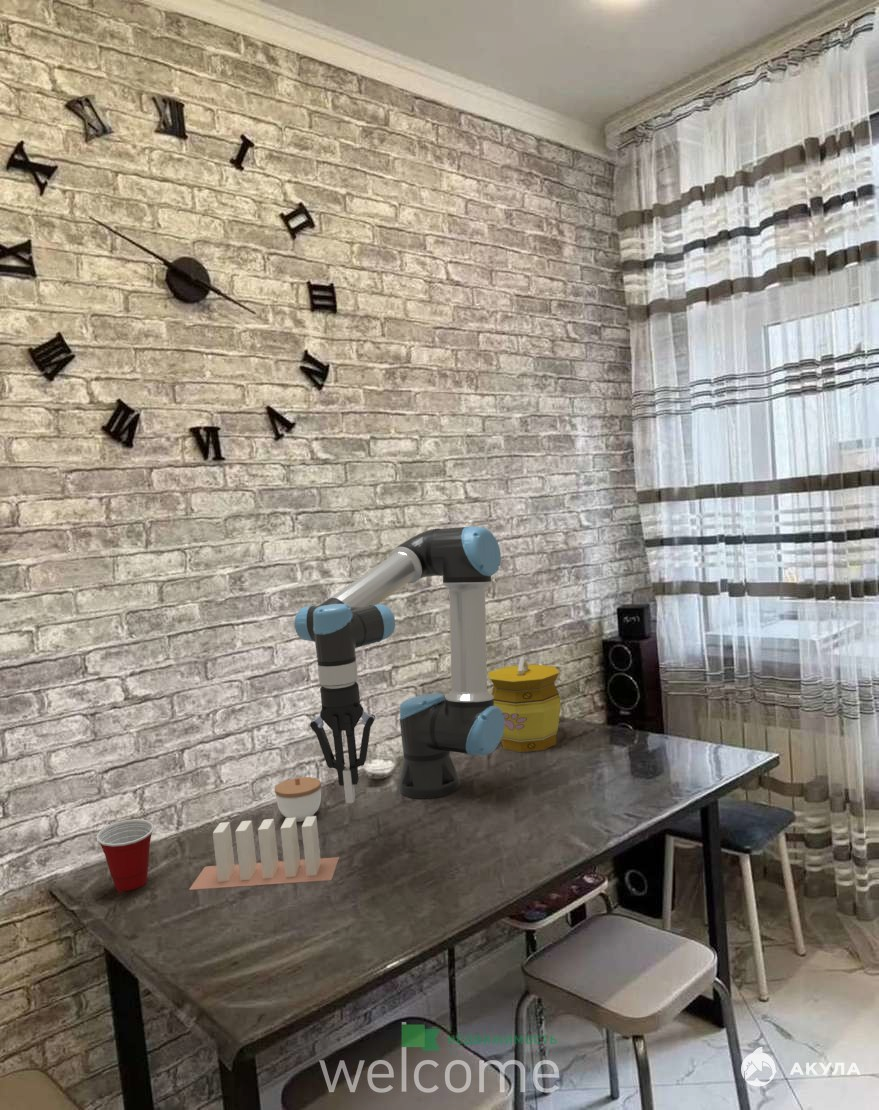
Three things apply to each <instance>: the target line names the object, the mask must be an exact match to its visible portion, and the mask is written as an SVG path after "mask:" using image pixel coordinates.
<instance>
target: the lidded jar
mask: <svg viewBox="0 0 879 1110" xmlns="http://www.w3.org/2000/svg"><path fill="white" fill-rule="evenodd" d="M321 787H322V782H321V781H320V779H319V778H316V777H313V776H312V777H309V776H308V777H307V776H306V777H305V776H303V777H302V776H301V777H295V778H290V779H286V780H283V781H282V782H279V783H278V784H277V785H275V786H274V794H275V799H276V804H277V807H278V809H279V812H280V813H281V815H283V817H285V819H286V818H293V817H296V823H301V822H304V821H305V819H306V817H309V816H315V814H316V813H317V812H318V810H319V808H320V806H321V801H322V788H321Z"/></svg>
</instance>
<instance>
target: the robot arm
mask: <svg viewBox="0 0 879 1110" xmlns="http://www.w3.org/2000/svg"><path fill="white" fill-rule="evenodd" d="M501 557H502V555H501V548H500V544H499V543H498V540H497V538H496V537H495V535H494V534H493V533H492V531H491V530H490V529H487V528H485V527H482V526H471V525H469V526H463V527H461V526H460V527H459V526H458V527H447V528H444V527H443V528H432V529H428V530H426V531H423V532H420V533H418V534H417V535H414V536H412V537H411V538H409V539H407V540H405V541H404V542H402V543H401V544H398V546H396V547H394V548H393V549H392V550H391V551H390V553H389V555H388V557H387V558H386V559H384V560H383V561H382V562H380V563H378V564H377V565H376V566H375V567H373V568H372V569H370V570H368V571H367V572H366V573H364V574H363V575H361V576H360V577H358V578H357V579H356V580H354V581H353V582H351V583H350V584H348V585H347V586H345V587H344V588H342V589H341V590H340V591H338V592H336V593H334V594H333V595H332V596H331V597H329V598H327V599H326V600H325V601H323V602H322V603H320V604H318V605H309V606H303V607H301V608H300V609H299V610H298V611H297V612H296V615H295V617H294V624H293V625H294V629H295V633H296V634H297V636H298V637H299V638H300V639H301V640H302V641H303V640H304V641H308V642H309V641H310V642H313V643H315V651H316V652H315V653H316V658H317V670H318V671H317V673H318V681H319V685H321V687H320V688H319V690H320V691H319V692H320V702H321V703H320V704H321V710H320V713H319V716H317V717H316V718H313V719H312V720H311V722H310V723H309V727H310V728H311V730H312V731H313V732H314V733H315V736H316V737H317V741H318V743H319V746H320V749H321V751H322V752H321V753H322V756H323V757H324V760H325V764H326V766H327V768H328V769H335V770H336V772H337V780H338V785H339V786H341V787H342V786H344V787H343V788H344V797H345V798H344V799H345V804H352V803H353V804H354V802H355V800H356V791H355V786H356V785H358V783H359V779H360V778H359V770H358V769H359V767H362V766H364V765H365V763H366V760H367V755H368V749H369V743H370V736H371V735H370V734H371V728H372V725H373V724H374V722H375V720H376V715H375V714H373V713H371V714H369V713H367V712H365V710H364V707H363V706H362V704H361V699H360V687H359V683H358V682H357V681H358V677H359V676H358V668H357V655H356V649H357V648H360V647H363V646H368V645H372V644H375V643H380V642H381V641H383V640H386V639H388V638H390V637H391V636H392V635H393V633H394V631H395V628H396V619H395V615H394V613H393V612H392V610H391V609H390V607H388V606H386V605H385V604H382V603H383V602H384V601H385V600H386V599H387V598H389V597H390V596H392V595H393V594H394V593H395V592H397V591H399V590H400V589H401V588H402V587H404V586H406V584H414V583H416V582H418V581H419V580H420V579H423V578H427V577H436V576H438V577H442V584H443V585H444V586H445V588H447V590H448V591H449V593H448V595H449V628H450V629H449V634H450V635H449V637H450V638H449V639H450V679H451V681H450V683H451V684H450V685H451V688H450V689H451V690H450V691H449V692H448V693H447V694H446V695H445V694H444V693H442V692H436V693H434V692H433V693H427V694H421V695H416V696H414V697H410V698H408V699H406V700H404V701H402V703H401V704H400V705H399V724H400V733H401V744H402V753H403V763H402V767H401V772H400V775H399V781H398V785H399V786H398V787H399V792H400V794H401V795H403V796H404V797H405V796H406V797H408V798H413V799H433V798H440V797H443V796H447V795H450V794H452V793H454V792H456V791H457V790H459V788H460V786H461V784H460V783H461V782H460V775H459V773H458V771H457V770H458V769H457V768H456V765H455V763H454V760H453V758H452V756H451V753H452V752H453V753H460V754H467V755H469V756H488V755H491V753H493V752H494V751H495V750H496V749H497V748H498V746H499V743H500V742H501V738H502V735H503V731H504V715H503V714H502V711H501V709H500V708H498V707H497V706H494V697H493V695H492V692H491V691H489V690H488V670H487V669H488V667H487V666H488V665H487V662H488V661H487V660H488V659H487V623H486V622H487V619H486V617H487V615H486V614H487V613H486V590H487V588H488V587H489V586H490V584H492V576H493V575H495V574H497V572H498V571H499V570H500V566H501V560H502V558H501ZM361 719H362V721H361V723H362V725H363V729H362V737H361V743H360V748H359V750H360V751H359V756H358V755H357V754H358V753H357V745H356V744H357V743H356V735H355V734H356V733H355V730H356V729H355V728H356V726H357V725H358V723H359V721H360V720H361ZM325 724H326V725H327V726H328V727H329V729H330V730H331V731H332V738H333V745H334V753H333V750H332V748H331V747H332V746H331V745H330V741H329V739H328V736H327V734H326V731H325V728H324V725H325ZM343 731H345V736H346V743H347V752H348V754H347V755H348V763H349V765H347V766H345V764H346V762H345V754H344V745H343V743H344V742H343V733H342V732H343ZM357 756H358V757H357Z"/></svg>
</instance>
